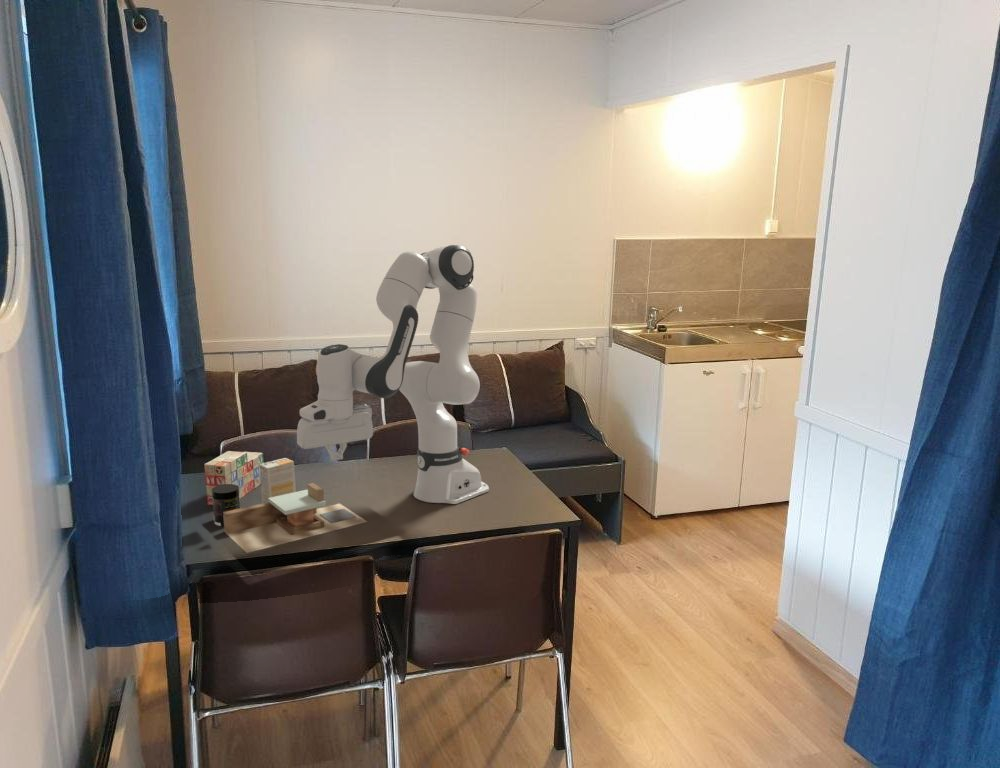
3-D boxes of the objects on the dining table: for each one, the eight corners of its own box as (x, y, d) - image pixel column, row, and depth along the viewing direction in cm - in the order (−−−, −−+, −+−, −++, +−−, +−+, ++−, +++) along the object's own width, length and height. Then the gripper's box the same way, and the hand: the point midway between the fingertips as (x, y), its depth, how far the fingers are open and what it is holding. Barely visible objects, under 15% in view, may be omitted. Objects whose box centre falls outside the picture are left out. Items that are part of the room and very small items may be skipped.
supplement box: (288, 501, 221) (285, 457, 219) (296, 505, 218) (294, 461, 215) (261, 508, 216) (258, 463, 213) (269, 513, 212) (267, 467, 210)
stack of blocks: (246, 480, 238) (244, 441, 235) (265, 482, 237) (263, 443, 234) (206, 505, 218) (203, 463, 215) (227, 507, 216) (224, 465, 214)
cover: (308, 492, 208) (307, 478, 207) (326, 505, 200) (325, 490, 199) (268, 501, 202) (267, 487, 201) (285, 514, 193) (284, 499, 192)
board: (339, 508, 216) (338, 485, 215) (367, 527, 204) (367, 502, 203) (224, 536, 197) (222, 511, 196) (247, 558, 185) (245, 532, 183)
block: (305, 520, 204) (304, 502, 203) (313, 526, 200) (313, 507, 199) (287, 524, 201) (286, 506, 200) (295, 530, 197) (294, 512, 196)
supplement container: (247, 524, 205) (244, 486, 203) (228, 533, 199) (225, 494, 197) (227, 519, 208) (225, 482, 206) (208, 528, 202) (205, 490, 200)
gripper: (365, 401, 210) (366, 450, 212) (293, 410, 197) (295, 463, 200) (377, 405, 205) (377, 456, 207) (303, 415, 192) (305, 469, 195)
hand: (336, 459), depth 204 cm, fingers closed
